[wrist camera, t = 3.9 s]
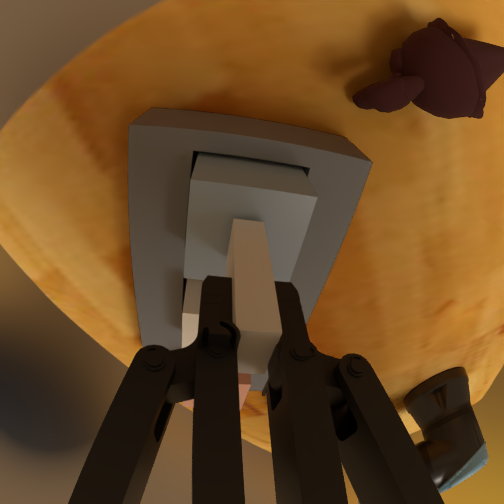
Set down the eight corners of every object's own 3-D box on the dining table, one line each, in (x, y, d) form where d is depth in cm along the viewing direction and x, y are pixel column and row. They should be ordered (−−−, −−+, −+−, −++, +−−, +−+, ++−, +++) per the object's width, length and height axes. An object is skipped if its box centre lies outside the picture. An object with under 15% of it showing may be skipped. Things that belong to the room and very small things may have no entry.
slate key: (278, 247, 21) (287, 287, 18) (190, 237, 20) (183, 278, 17) (301, 166, 17) (317, 197, 14) (199, 151, 17) (190, 179, 13)
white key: (254, 329, 26) (257, 367, 23) (185, 323, 25) (181, 362, 22) (269, 279, 23) (275, 320, 20) (188, 271, 22) (182, 312, 19)
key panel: (268, 356, 36) (272, 391, 33) (154, 346, 34) (149, 381, 30) (346, 137, 21) (372, 162, 17) (151, 107, 18) (129, 124, 14)
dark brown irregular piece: (521, 2, 7) (338, 39, 12) (558, 103, 10) (396, 164, 15) (475, 17, 13) (326, 58, 18) (508, 96, 16) (369, 146, 21)
